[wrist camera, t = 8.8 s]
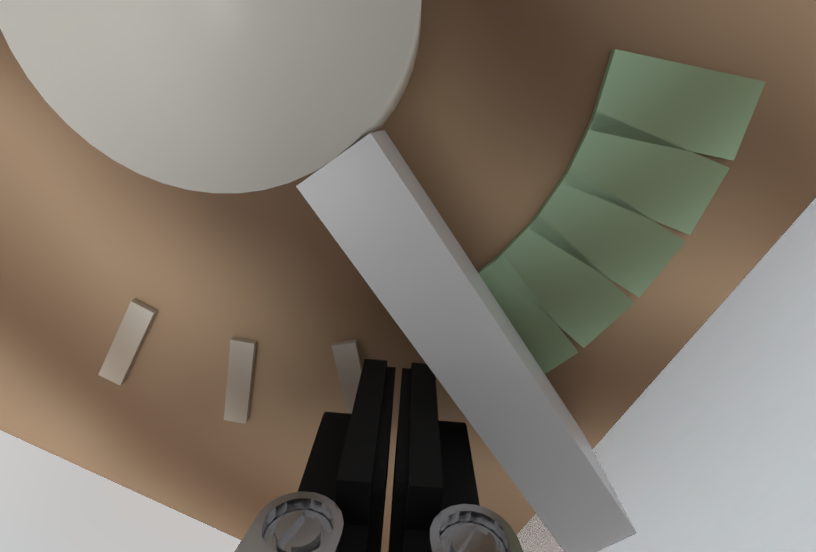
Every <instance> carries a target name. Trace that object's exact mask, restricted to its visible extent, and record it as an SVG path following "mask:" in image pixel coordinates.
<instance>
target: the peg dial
mask: <svg viewBox="0 0 816 552" xmlns="http://www.w3.org/2000/svg"><path fill="white" fill-rule="evenodd" d="M0 29H1V31H2V33H3V35H4V37H5V39H6V41H7V44H8V46H9V48H10V50H11V51H12V53H13V55H14V56H15V58H16V59H17V61H18V63H19V64H20V66H21V68H22V69H23V71H24V72H25V74H26V76H27V77H28V79H29V80H30V81H31V83H32V84H33V85H34V87H35V88H36V89H37V90H38V92H39V93H40V94H41V96H42V97H43V98H44V100H45V101H46V102H47V103H48V104H49V105H50V107H51V108H52V109H53V110H54V111H55V112H56V113H57V114H58V115H59V116H60V117H61V118H62V119H63V120H64V121H65V122H66V124H67V125H69V126H70V127H71V128H72V129H73V130H74V131H75V132H77V133H78V134H79V135H80V136H81V137H82V138H84V139H85V140H86V141H87V142H88V143H89V144H91V145H92V146H94V147H95V148H96V149H98V150H99V151H101V152H102V153H104V154H105V155H107V156H108V157H110V158H111V159H112V160H114V161H116V162H118V163H120V164H121V165H123V166H125V167H127V168H129V169H131V170H133V171H134V172H136V173H138V174H141V175H143V176H146V177H148V178H151V179H153V180H156V181H158V182H161V183H163V184H167V185H171V186H175V187H179V188H183V189H186V190H192V191H199V192H207V193H246V192H253V191H261V190H266V189H270V188H273V187H277V186H280V185H284V184H288V183H290V182H292V181H295V180H297V179H299V178H301V177H304V176H306V175H308V174H311V173H313V172H315V171H316V172H315V173H314V174H312V175H311V176H309V177H308V178H307V179H305V180H304V181H303V182H301V183H300V184H298V185H297V186H296V187H297V188H298V190H299V191H300V192H301V194H302V195H303V197H304V198H305V199H306V201H307V202H308V203H309V205H310V206H311V207H312V209H313V210H314V211H315V213H316V214H317V216H318V217H319V218H320V220H321V221H322V222H323V224H324V225H325V226H326V228H327V229H328V231H329V232H330V233H331V235H332V236H333V237H334V239H335V240H336V241H337V243H338V244H339V245H340V247H341V248H342V250H343V251H344V252H345V254H346V255H347V256H348V258H349V259H350V260H351V262H352V263H353V265H354V266H355V267H356V269H357V270H358V271H359V273H360V274H361V275H362V277H363V278H364V280H365V281H366V282H367V284H368V285H369V286H370V288H371V289H372V290H373V292H374V293H375V294H376V296H377V297H378V299H379V300H380V301H381V303H382V304H383V305H384V307H385V308H386V309H387V311H388V312H389V314H390V315H391V316H392V318H393V319H394V320H395V322H396V323H397V324H398V326H399V327H400V328H401V330H402V331H403V333H404V334H405V335H406V337H407V338H408V339H409V341H410V342H411V343H412V345H413V346H414V348H415V349H416V350H417V352H418V353H419V354H420V356H421V357H422V358H423V360H424V361H425V363H426V364H427V365H428V367H429V368H430V369H431V371H432V372H433V373H434V375H435V376H436V377H437V379H438V380H439V382H440V383H441V384H442V386H443V387H444V388H445V390H446V391H447V392H448V394H449V395H450V397H451V398H452V399H453V401H454V402H455V403H456V405H457V406H458V407H459V409H460V410H461V411H462V413H463V414H464V416H465V417H466V418H467V420H468V421H469V422H470V424H471V425H472V426H473V428H474V429H475V431H476V432H477V433H478V435H479V436H480V437H481V439H482V440H483V441H484V443H485V444H486V445H487V447H488V448H489V450H490V451H491V452H492V454H493V455H494V456H495V458H496V459H497V460H498V462H499V463H500V465H501V466H502V467H503V469H504V470H505V471H506V473H507V474H508V475H509V477H510V478H511V480H512V481H513V482H514V484H515V485H516V486H517V488H518V489H519V490H520V492H521V493H522V494H523V496H524V497H525V499H526V500H527V501H528V503H529V504H530V505H531V507H532V508H533V509H534V511H535V512H536V514H537V515H538V516H539V518H540V519H541V520H542V522H543V523H544V524H545V526H546V527H547V528H548V530H549V531H550V533H551V534H552V535H553V537H554V538H555V539H556V541H557V542H558V543H559V545H560V546H561V548H562V549H563V550H564V552H596V551H598V550H601V549H603V548H605V547H607V546H609V545H612V544H614V543H616V542H618V541H620V540H623V539H625V538H627V537H629V536H632V535H634V534H636V531H635V529H634V527H633V525H632V523H631V521H630V520H629V518H628V516H627V514H626V512H625V510H624V508H623V506H622V505H621V503H620V501H619V499H618V497H617V495H616V493H615V491H614V489H613V488H612V486H611V484H610V482H609V480H608V478H607V476H606V474H605V473H604V471H603V469H602V467H601V465H600V463H599V461H598V459H597V457H596V456H595V454H594V452H593V450H592V448H591V446H590V444H589V442H588V441H587V439H586V437H585V435H584V433H583V432H582V430H581V429H580V427H579V426H578V424H577V423H576V421H575V420H574V418H573V417H572V415H571V414H570V412H569V411H568V409H567V408H566V406H565V404H564V403H563V401H562V400H561V398H560V397H559V395H558V394H557V392H556V391H555V389H554V388H553V386H552V385H551V383H550V382H549V380H548V379H547V377H546V375H545V374H544V372H543V371H542V369H541V368H540V366H539V365H538V363H537V362H536V360H535V359H534V357H533V356H532V354H531V353H530V351H529V350H528V348H527V346H526V345H525V343H524V342H523V340H522V339H521V337H520V336H519V334H518V333H517V331H516V330H515V328H514V327H513V325H512V324H511V322H510V321H509V319H508V318H507V316H506V314H505V313H504V311H503V310H502V308H501V307H500V305H499V304H498V302H497V301H496V299H495V298H494V296H493V295H492V293H491V292H490V290H489V289H488V287H487V285H486V284H485V282H484V281H483V279H482V278H481V276H480V275H479V273H478V272H477V270H476V269H475V267H474V266H473V264H472V263H471V261H470V260H469V258H468V256H467V255H466V253H465V252H464V250H463V249H462V247H461V246H460V244H459V243H458V241H457V240H456V238H455V237H454V235H453V234H452V232H451V231H450V229H449V227H448V226H447V224H446V223H445V221H444V220H443V218H442V217H441V215H440V214H439V212H438V211H437V209H436V208H435V206H434V205H433V203H432V202H431V200H430V199H429V197H428V195H427V194H426V192H425V191H424V189H423V188H422V186H421V185H420V183H419V182H418V180H417V179H416V177H415V176H414V174H413V173H412V171H411V170H410V168H409V166H408V165H407V163H406V162H405V160H404V159H403V157H402V156H401V154H400V153H399V151H398V150H397V148H396V147H395V145H394V144H393V142H392V141H391V139H390V137H389V136H388V134H387V133H386V131H385V130H382V131H378V130H379V129H380V128H381V127H382V126H383V125H384V124H385V122H386V121H387V120H388V118H389V117H390V115H391V114H392V112H393V111H394V110H395V108H396V107H397V105H398V103H399V101H400V99H401V97H402V95H403V93H404V92H405V90H406V87H407V85H408V82H409V79H410V77H411V74H412V71H413V68H414V64H415V60H416V56H417V52H418V46H419V38H420V30H421V0H0ZM317 170H318V171H317Z"/></svg>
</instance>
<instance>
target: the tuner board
mask: <svg viewBox="0 0 816 552" xmlns="http://www.w3.org/2000/svg"><path fill="white" fill-rule="evenodd" d="M382 130H385V131H386V133H387V134H388V136H389V137H390V139H391V141H392V142H393V144H394V145H395V147H396V148H397V150H398V151H399V153H400V154H401V156H402V157H403V159H404V160H405V162H406V163H407V165H408V166H409V168H410V170H411V171H412V173H413V174H414V176H415V177H416V179H417V180H418V182H419V183H420V185H421V186H422V188H423V189H424V191H425V192H426V194H427V195H428V197H429V199H430V200H431V202H432V203H433V205H434V206H435V208H436V209H437V211H438V212H439V214H440V215H441V217H442V218H443V220H444V221H445V223H446V224H447V226H448V227H449V229H450V231H451V232H452V234H453V235H454V237H455V238H456V240H457V241H458V243H459V244H460V246H461V247H462V249H463V250H464V252H465V253H466V255H467V256H468V258H469V260H470V261H471V263H472V264H473V266H474V267H475V269H476V270H477V272H478V273H479V275H480V276H481V278H482V279H483V281H484V282H485V284H486V285H487V287H488V289H489V290H490V292H491V293H492V295H493V296H494V298H495V299H496V301H497V302H498V304H499V305H500V307H501V308H502V310H503V311H504V313H505V314H506V316H507V318H508V319H509V321H510V322H511V324H512V325H513V327H514V328H515V330H516V331H517V333H518V334H519V336H520V337H521V339H522V340H523V342H524V343H525V345H526V346H527V348H528V350H529V351H530V353H531V354H532V356H533V357H534V359H535V360H536V362H537V363H538V365H539V366H540V368H541V369H542V371H543V372H544V374H545V375H546V377H547V379H548V380H549V382H550V383H551V385H552V386H553V388H554V389H555V391H556V392H557V394H558V395H559V397H560V398H561V400H562V401H563V403H564V404H565V406H566V408H567V409H568V411H569V412H570V414H571V415H572V417H573V418H574V420H575V421H576V423H577V424H578V426H579V427H580V429H581V430H582V432H583V433H584V435H585V437H586V439H587V441H588V442H589V444H590V446H591V448H592V449H593V448H594V447H595V446H596V445H597V443H598V442H599V441H600V440H601V439H602V438H603V437H604V436H605V434H606V433H607V432H608V431H609V430H610V429H611V428H612V426H613V425H614V424H615V423H616V422H617V421H618V420H619V419H620V417H621V416H622V415H623V414H624V413H625V412H626V411H627V410H628V408H629V407H630V406H631V405H632V404H633V403H634V402H635V401H636V399H637V398H638V397H639V396H640V395H641V394H642V393H643V392H644V390H645V389H646V388H647V387H648V386H649V385H650V384H651V383H652V381H653V380H654V379H655V378H656V377H657V376H658V375H659V374H660V372H661V371H662V370H663V369H664V368H665V367H666V366H667V365H668V363H669V362H670V361H671V360H672V359H673V358H674V357H675V355H676V354H677V353H678V352H679V351H680V350H681V349H682V348H683V346H684V345H685V344H686V343H687V342H688V341H689V340H690V339H691V337H692V336H693V335H694V334H695V333H696V332H697V331H698V330H699V328H700V327H701V326H702V325H703V324H704V323H705V322H706V321H707V319H708V318H709V317H710V316H711V315H712V314H713V313H714V312H715V310H716V309H717V308H718V307H719V306H720V305H721V304H722V303H723V301H724V300H725V299H726V298H727V297H728V296H729V295H730V293H731V292H732V291H733V290H734V289H735V288H736V287H737V286H738V284H739V283H740V282H741V281H742V280H743V279H744V278H745V277H746V275H747V274H748V273H749V272H750V271H751V270H752V269H753V268H754V266H755V265H756V264H757V263H758V262H759V261H760V260H761V259H762V257H763V256H764V255H765V254H766V253H767V252H768V251H769V250H770V248H771V247H772V246H773V245H774V244H775V243H776V242H777V241H778V239H779V238H780V237H781V236H782V235H783V234H784V233H785V231H786V230H787V229H788V228H789V227H790V226H791V225H792V224H793V222H794V221H795V220H796V219H797V218H798V217H799V216H800V215H801V213H802V212H803V211H804V210H805V209H806V208H807V207H808V206H809V204H810V203H811V202H812V201H813V200H814V199H815V198H816V0H421V30H420V38H419V46H418V52H417V56H416V60H415V64H414V68H413V71H412V74H411V77H410V79H409V82H408V85H407V87H406V90H405V92H404V93H403V95H402V97H401V99H400V101H399V103H398V105H397V107H396V108H395V110H394V111H393V112H392V114H391V115H390V117H389V118H388V120H387V121H386V122H385V124H384V125H383V126H382V127H381V128H380V129H379V130H378V131H382ZM317 171H318V170H317ZM315 172H316V171H315ZM315 172H313V173H311V174H308V175H306V176H304V177H301V178H299V179H297V180H295V181H292V182H290V183H288V184H284V185H280V186H277V187H273V188H270V189H266V190H261V191H253V192H246V193H207V192H199V191H192V190H186V189H183V188H179V187H175V186H171V185H167V184H163V183H161V182H158V181H156V180H153V179H151V178H148V177H146V176H143V175H141V174H138V173H136V172H134V171H133V170H131V169H129V168H127V167H125V166H123V165H121V164H120V163H118V162H116V161H114V160H112V159H111V158H110V157H108V156H107V155H105V154H104V153H102V152H101V151H99V150H98V149H96V148H95V147H94V146H92V145H91V144H89V143H88V142H87V141H86V140H85V139H84V138H82V137H81V136H80V135H79V134H78V133H77V132H75V131H74V130H73V129H72V128H71V127H70V126H69V125H67V124H66V122H65V121H64V120H63V119H62V118H61V117H60V116H59V115H58V114H57V113H56V112H55V111H54V110H53V109H52V108H51V107H50V105H49V104H48V103H47V102H46V101H45V100H44V98H43V97H42V96H41V94H40V93H39V92H38V90H37V89H36V88H35V87H34V85H33V84H32V83H31V81H30V80H29V79H28V77H27V76H26V74H25V72H24V71H23V69H22V68H21V66H20V64H19V63H18V61H17V59H16V58H15V56H14V55H13V53H12V51H11V50H10V48H9V46H8V44H7V41H6V39H5V37H4V35H3V33H2V31H1V29H0V430H2V431H4V432H6V433H8V434H11V435H13V436H15V437H17V438H19V439H22V440H24V441H26V442H28V443H30V444H32V445H35V446H37V447H39V448H41V449H43V450H46V451H48V452H50V453H52V454H54V455H56V456H59V457H61V458H63V459H65V460H67V461H69V462H72V463H74V464H76V465H78V466H81V467H83V468H85V469H87V470H89V471H91V472H94V473H96V474H98V475H100V476H102V477H104V478H107V479H109V480H111V481H113V482H115V483H118V484H120V485H122V486H124V487H126V488H129V489H131V490H133V491H135V492H137V493H139V494H142V495H144V496H146V497H148V498H150V499H153V500H155V501H157V502H159V503H162V504H164V505H166V506H168V507H170V508H173V509H175V510H177V511H179V512H181V513H183V514H185V515H188V516H190V517H192V518H194V519H197V520H198V521H201V522H203V523H205V524H207V525H209V526H212V527H214V528H216V529H218V530H220V531H222V532H225V533H227V534H229V535H231V536H233V537H236V538H238V539H240V540H242V539H243V537H244V536H245V534H246V533H247V531H248V529H249V528H250V526H251V524H252V523H253V521H254V519H255V518H256V516H257V515H258V514H259V513H260V511H261V510H262V509H263V508H264V507H265V506H266V505H267V504H269V503H270V502H272V501H273V500H275V499H276V498H279V497H281V496H284V495H286V494H289V493H295V492H298V489H299V486H300V483H301V480H302V477H303V474H304V471H305V468H306V465H307V462H308V459H309V456H310V452H311V449H312V446H313V443H314V440H315V437H316V434H317V431H318V428H319V425H320V422H321V419H322V416H323V414H324V412H337V413H350V414H352V410H353V406H354V402H355V397H356V393H357V389H358V385H359V380H360V376H361V372H362V367H363V363H364V359H375V360H387V367H396V371H395V385H394V398H393V411H392V424H391V437H390V450H389V463H388V476H387V487H386V498H385V510H384V521H383V532H382V544H381V552H388V550H389V535H390V521H391V506H392V492H393V477H394V464H395V451H396V439H397V427H398V414H399V402H400V390H401V377H402V368H411V364H412V363H425V361H424V360H423V358H422V357H421V356H420V354H419V353H418V352H417V350H416V349H415V348H414V346H413V345H412V343H411V342H410V341H409V339H408V338H407V337H406V335H405V334H404V333H403V331H402V330H401V328H400V327H399V326H398V324H397V323H396V322H395V320H394V319H393V318H392V316H391V315H390V314H389V312H388V311H387V309H386V308H385V307H384V305H383V304H382V303H381V301H380V300H379V299H378V297H377V296H376V294H375V293H374V292H373V290H372V289H371V288H370V286H369V285H368V284H367V282H366V281H365V280H364V278H363V277H362V275H361V274H360V273H359V271H358V270H357V269H356V267H355V266H354V265H353V263H352V262H351V260H350V259H349V258H348V256H347V255H346V254H345V252H344V251H343V250H342V248H341V247H340V245H339V244H338V243H337V241H336V240H335V239H334V237H333V236H332V235H331V233H330V232H329V231H328V229H327V228H326V226H325V225H324V224H323V222H322V221H321V220H320V218H319V217H318V216H317V214H316V213H315V211H314V210H313V209H312V207H311V206H310V205H309V203H308V202H307V201H306V199H305V198H304V197H303V195H302V194H301V192H300V191H299V190H298V188H297V187H296V186H297V185H298V184H300V183H301V182H303V181H304V180H305V179H307V178H308V177H309V176H311V175H312V174H314V173H315ZM425 364H426V363H425ZM435 378H436V392H437V406H438V420H439V421H452V422H465V423H466V426H467V431H468V437H469V443H470V449H471V455H472V461H473V467H474V473H475V479H476V485H477V491H478V498H479V504H480V506H481V507H484V508H487V509H490V510H491V511H493V512H495V513H497V514H498V515H500V516H501V517H502V518H503V519H504V520H505V521H506V522H507V523H508V524H509V525H510V526H511V527H512V529H513V531H514V532H515V534H516V535H517V534H518V532H519V531H520V530H521V529H522V528H523V527H524V526H525V525H526V523H527V522H528V521H529V520H530V519H531V518H532V517H533V516H534V514H535V513H536V512H535V511H534V509H533V508H532V507H531V505H530V504H529V503H528V501H527V500H526V499H525V497H524V496H523V494H522V493H521V492H520V490H519V489H518V488H517V486H516V485H515V484H514V482H513V481H512V480H511V478H510V477H509V475H508V474H507V473H506V471H505V470H504V469H503V467H502V466H501V465H500V463H499V462H498V460H497V459H496V458H495V456H494V455H493V454H492V452H491V451H490V450H489V448H488V447H487V445H486V444H485V443H484V441H483V440H482V439H481V437H480V436H479V435H478V433H477V432H476V431H475V429H474V428H473V426H472V425H471V424H470V422H469V421H468V420H467V418H466V417H465V416H464V414H463V413H462V411H461V410H460V409H459V407H458V406H457V405H456V403H455V402H454V401H453V399H452V398H451V397H450V395H449V394H448V392H447V391H446V390H445V388H444V387H443V386H442V384H441V383H440V382H439V380H438V379H437V377H436V376H435Z"/></svg>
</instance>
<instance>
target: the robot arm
mask: <svg viewBox="0 0 816 552" xmlns="http://www.w3.org/2000/svg"><path fill="white" fill-rule="evenodd" d="M395 371H396V367H387V360H375V359H364V363H363V367H362V372H361V376H360V380H359V385H358V389H357V393H356V397H355V402H354V406H353V410H352V414H350V413H337V412H324V414H323V416H322V419H321V422H320V425H319V428H318V431H317V434H316V437H315V440H314V443H313V446H312V449H311V452H310V456H309V459H308V462H307V465H306V468H305V471H304V474H303V477H302V480H301V483H300V486H299V489H298V492H295V493H289V494H286V495H284V496H281V497H279V498H276V499H275V500H273V501H272V502H270V503H269V504H267V505H266V506H265V507H264V508H263V509H262V510H261V511H260V513H259V514H258V515H257V516H256V518H255V519H254V521H253V523H252V524H251V526H250V528H249V529H248V531H247V533H246V534H245V536H244V537H243V539H242V541H241V542H240V544H239V546H238V547H237V549H236V551H235V552H381V544H382V532H383V521H384V510H385V498H386V487H387V476H388V463H389V450H390V437H391V424H392V411H393V398H394V385H395ZM388 552H523V550H522V548H521V545H520V543H519V540H518V538H517V536H516V534H515V532H514V531H513V529H512V527H511V526H510V525H509V524H508V523H507V522H506V521H505V520H504V519H503V518H502V517H501V516H500V515H498V514H497V513H495V512H493V511H491V510H490V509H487V508H484V507H481V506H480V504H479V498H478V491H477V485H476V479H475V473H474V467H473V461H472V455H471V449H470V443H469V437H468V431H467V426H466V423H465V422H452V421H439V420H438V406H437V392H436V378H435V375H434V373H433V372H432V371H431V369H430V368H429V367H428V365H427V364H425V363H412V364H411V368H402V377H401V390H400V402H399V414H398V427H397V439H396V451H395V464H394V477H393V492H392V506H391V521H390V535H389V550H388Z"/></svg>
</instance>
